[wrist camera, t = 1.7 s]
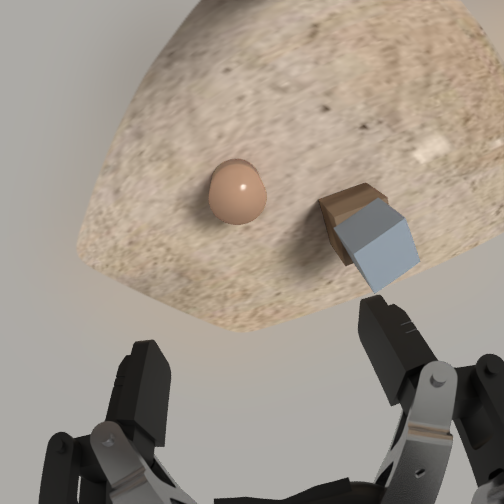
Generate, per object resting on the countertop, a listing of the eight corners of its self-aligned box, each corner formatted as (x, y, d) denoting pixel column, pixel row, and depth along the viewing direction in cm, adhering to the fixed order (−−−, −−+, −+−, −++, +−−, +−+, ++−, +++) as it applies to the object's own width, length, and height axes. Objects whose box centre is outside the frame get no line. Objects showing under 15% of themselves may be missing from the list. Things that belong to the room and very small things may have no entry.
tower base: (318, 199, 30) (334, 217, 26) (365, 182, 30) (387, 197, 25) (330, 243, 33) (345, 266, 29) (374, 227, 33) (393, 246, 28)
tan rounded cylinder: (206, 164, 27) (202, 177, 23) (255, 154, 27) (261, 165, 23) (217, 209, 30) (215, 229, 25) (263, 200, 30) (270, 218, 25)
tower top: (333, 228, 27) (353, 254, 22) (378, 197, 25) (405, 217, 21) (355, 265, 29) (374, 293, 25) (395, 237, 28) (420, 261, 23)
